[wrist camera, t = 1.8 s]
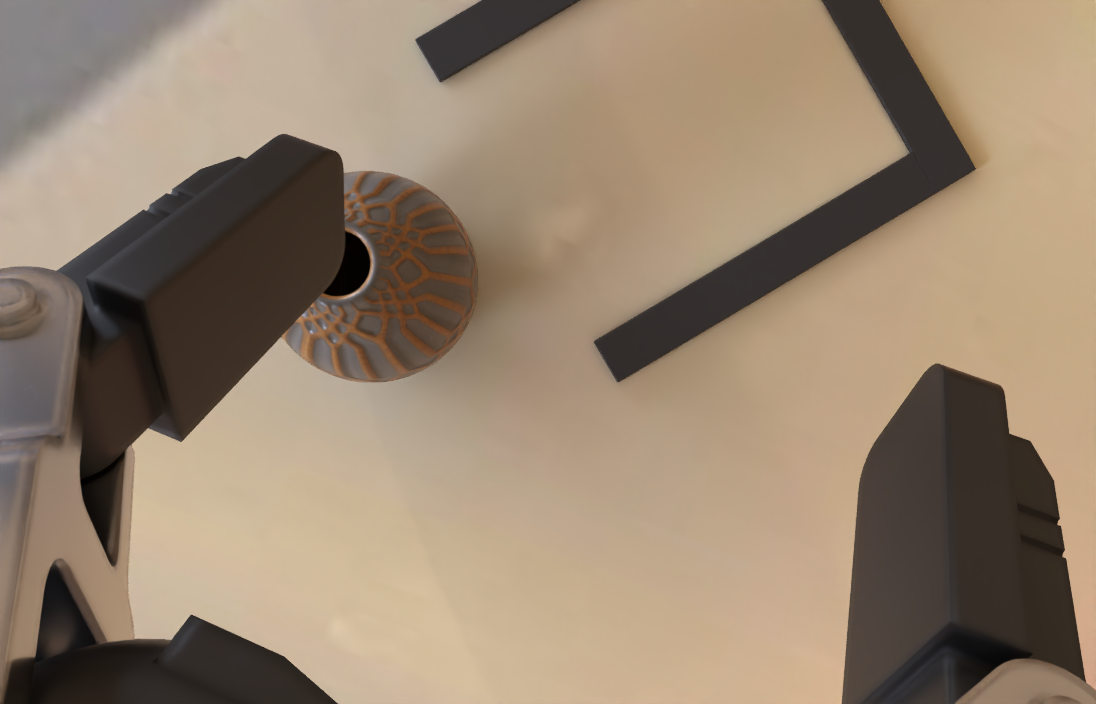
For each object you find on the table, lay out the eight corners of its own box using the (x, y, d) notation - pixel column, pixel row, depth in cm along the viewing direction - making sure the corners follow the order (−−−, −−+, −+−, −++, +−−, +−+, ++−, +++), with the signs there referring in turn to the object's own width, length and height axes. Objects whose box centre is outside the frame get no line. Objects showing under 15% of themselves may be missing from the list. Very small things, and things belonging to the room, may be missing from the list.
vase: (516, 254, 30) (512, 217, 21) (425, 410, 30) (382, 438, 21) (359, 161, 30) (288, 85, 21) (266, 318, 30) (157, 308, 21)
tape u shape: (415, 41, 30) (415, 39, 30) (777, -171, 30) (779, -174, 30) (617, 382, 30) (618, 382, 30) (973, 170, 30) (976, 169, 30)
